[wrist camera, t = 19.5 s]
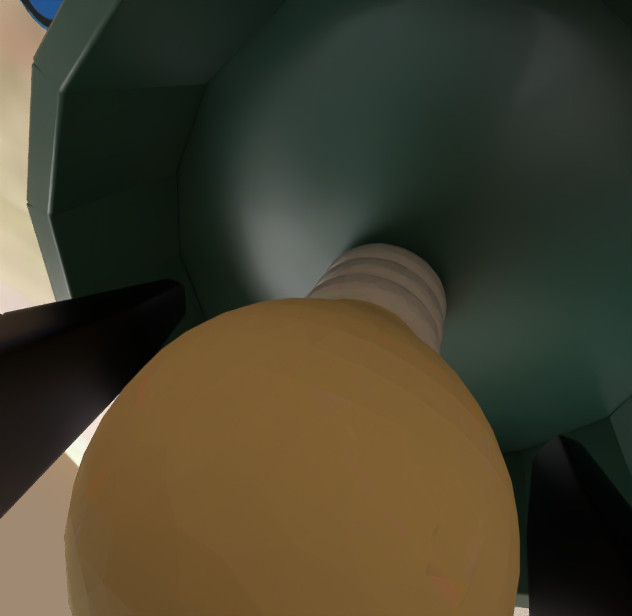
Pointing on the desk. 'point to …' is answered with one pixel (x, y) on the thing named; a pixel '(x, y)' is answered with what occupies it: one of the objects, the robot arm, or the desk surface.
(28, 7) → the smartphone
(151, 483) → the light bulb
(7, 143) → the desk surface
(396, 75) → the tin
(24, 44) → the desk surface
